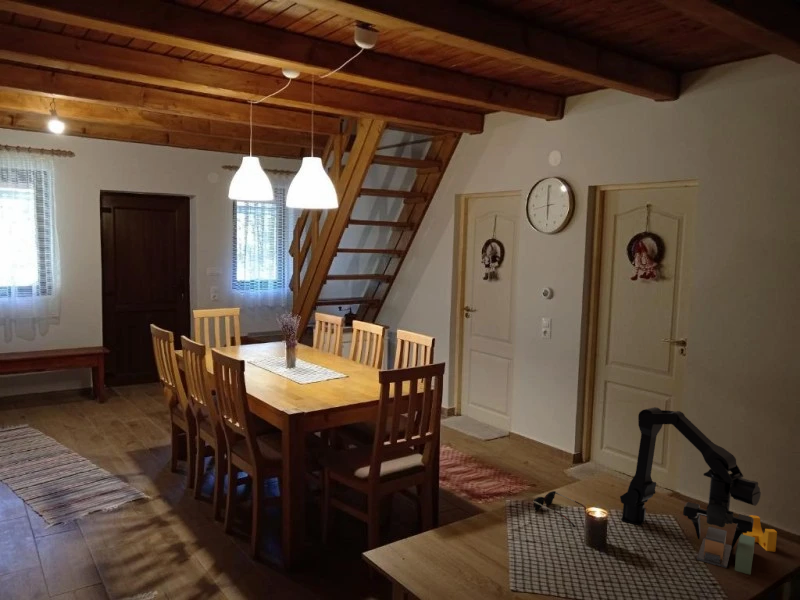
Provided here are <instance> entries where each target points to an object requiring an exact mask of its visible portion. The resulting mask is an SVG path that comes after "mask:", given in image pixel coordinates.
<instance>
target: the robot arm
mask: <svg viewBox="0 0 800 600" xmlns="http://www.w3.org/2000/svg"><path fill="white" fill-rule="evenodd" d="M637 415H638V417H637V420H638V421H637V422H638V428H639V431H640V441H639V446H638V455H637V461H636V469H635V473H634V476H633V477H632V479H631V481H630V482H629V485H628V488H627V492H625V493H624V494H622V495H620V497H619V498H620V502H621V504H623V507H622V517H621V519H620V521H621V522H625V523H629V524H633V525H637V526H642V525H643V524H644V522H645V521H646V516H647V515H646V511H647V508H646V507H645V504H646V503H648V501H649V499H651V498H653V496H654V495H655V494H656V487H657V482H656V481H653V479H652V471H653V462H654V454H655V449H656V441H657V436H658V434H659V433H660V431H661V429H662V428H663V425H673V427H675V429H676V430H677V431H678V432H679V433H680V434H681V435H682V436H683V437H684V438H686V440H687V441H688V442H690V444H692V445H693V447H695V448H696V449H697V451H699V452H700V453H701V456H702V457H703V460H704V462H705V464H706V465H707V466H708V468H709V469H708V470H707V471H706V472H704V473H703V476H705V477H707V478H710V483H709V493H708V504H707V506H706V509H704V508H700V504H699V503H694V502H691V501H687V502H685V504H684V506H683V510H682V511H683V512H682V515H683V516H684V517H687V519H688V520H691V522H692V524H693V526H694V529H695V533H696V537H697V540H700V539H701V516H703V517H706V523H707V524H708V525H712V526H717V527H719V528H724V527H725V526H726V524H727V525H733V524H736V526H735V530H734V535H733V538H732V542H731V546H732V548H731V549H734V547H735V546H736V545H737V544H736V543H738V542H737V541H739V538H740V535H741V534H742V533H747V531H748V532H752V529H753V522H754V519H753V518H752V517H750V516H749V515H745V514H741V513H738V516H737V517H736V516H734V511H730V506H731V498H733V499H734V500H736V501H739V502H742V503H745V504H747V505H750V506H757V505H758V503H759V502H760V499H761V495H762V492H761V490H760V487H759V483H758V481H756V480H749V479H747V478H744V474H743V473H742V471H741V469H740V467H739V466H738V464H737V459H736V457H735V456H734V454H733V453H731V452H729V451H728V450H727V449H726V448H724V447H722V446H719V445H717V444H715V442H713V441H712V440H711V439H709V437H707V436H706V435H705V434H704V432H702V431H701V430H700V428H698V427H697V426H696V425H695V424H694V423H693V422H692V421H691V420H690V419H688V417H687V416H686V415H685V414H684V412H682V411H681V410H675V411H673V410H665V409H661V408H659V407H656V406H655V407H650V408H646V409H642V410H640V411H639V413H638V414H637ZM730 472H731V473H730Z"/></svg>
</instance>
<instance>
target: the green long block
mask: <svg viewBox="0 0 800 600" xmlns="http://www.w3.org/2000/svg"><path fill="white" fill-rule="evenodd" d="M736 543H737V544H736V547H735V553H734V554H735V555H734V560H735V562H734V564H735V565H734V571H735V572H738V573H742V574H746V575H750V576H751V573H752V567H753V566H752V565H753V559H754V551H755V544H756V543H755V537H751V536H747V535H744V534H741V535H740V537H739V538H738V542H736Z"/></svg>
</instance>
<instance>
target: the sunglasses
mask: <svg viewBox="0 0 800 600" xmlns="http://www.w3.org/2000/svg"><path fill="white" fill-rule="evenodd" d="M556 495H558V496H561V497H563V498H564V499H568V500H569V501H571V502H574V503H576V504H578V505H580V506H582V507H583V508H584V510H585V511H586V509H587V507H586V506H585V505H584V504H582V503H580V502H579V501H576V500H573V499H571V498H569V497H568V496H565V495H563V494H561V493H559V492H557V491H555V490H552V491H550V492H548V493H547V494H546V495H545V496H539V497H536V498H535V499H533V500H532V502H533V508H534V511H535V512H536V511H539V510H541V509H542V507H543V508H545V509H547V510H549V511H551V512H552V513H553V512H554V513H555V514H557V515H559V516H561V517H563V518H564V519H566V521H568V522H569V523H570V524H571V525H572V527H573V528H576V527H577V526H576V525H575V524H574V523H573V522H572V521H571V520H570V519H569V518H568V517H566V516H565V515H564V514H562V513H560V512H557V511H556V510H553V509H551V508H549V507H547V506H549V505H552V504H553V502H554V499H555V496H556ZM544 504H545V505H544Z"/></svg>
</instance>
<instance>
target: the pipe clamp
mask: <svg viewBox="0 0 800 600" xmlns="http://www.w3.org/2000/svg"><path fill="white" fill-rule="evenodd" d="M748 516H750V517H752V518H753V519H754V522H753V529H752V532H748V531H747V533H743V535H747V536H751V537H755V544H756V543H757V544H759V546H761V547H762V548H763V549H764V550H765V551H766V552H776V550H777V549H776V547H777V539H778V538H777V536H778V531H776V530H775V529H774V528H773V529H772V528H765V529H764V531H763V528H762V525H761V517H760V516H758V515H752V514H751V515H748Z"/></svg>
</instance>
